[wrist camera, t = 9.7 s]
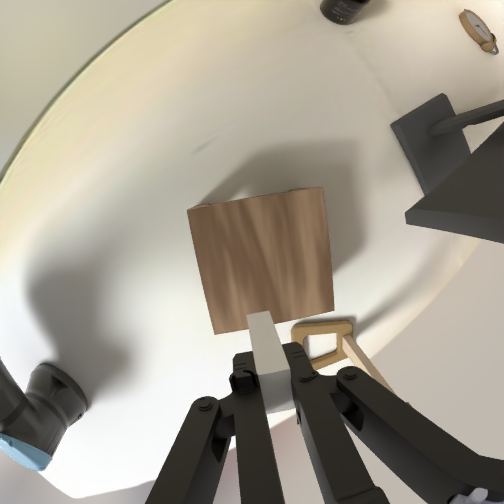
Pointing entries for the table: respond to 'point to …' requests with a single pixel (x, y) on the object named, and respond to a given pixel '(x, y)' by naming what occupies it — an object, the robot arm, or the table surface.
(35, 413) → the robot arm
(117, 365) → the table surface
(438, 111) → the computer monitor
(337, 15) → the supplement bottle
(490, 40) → the alarm clock
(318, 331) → the headphone stand
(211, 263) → the stool
